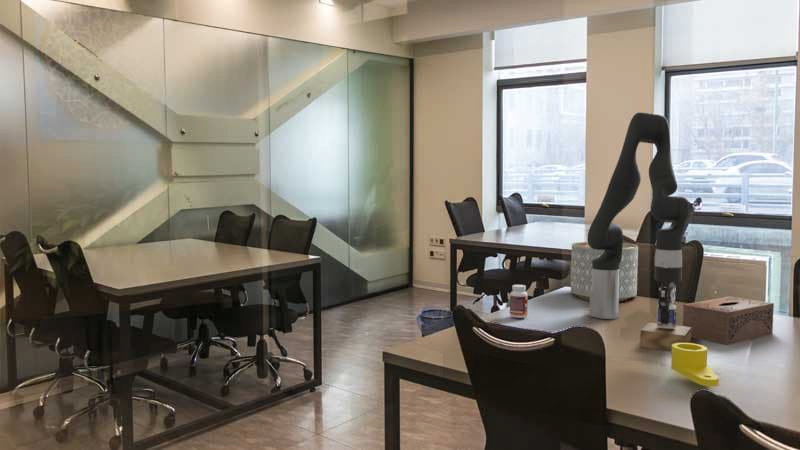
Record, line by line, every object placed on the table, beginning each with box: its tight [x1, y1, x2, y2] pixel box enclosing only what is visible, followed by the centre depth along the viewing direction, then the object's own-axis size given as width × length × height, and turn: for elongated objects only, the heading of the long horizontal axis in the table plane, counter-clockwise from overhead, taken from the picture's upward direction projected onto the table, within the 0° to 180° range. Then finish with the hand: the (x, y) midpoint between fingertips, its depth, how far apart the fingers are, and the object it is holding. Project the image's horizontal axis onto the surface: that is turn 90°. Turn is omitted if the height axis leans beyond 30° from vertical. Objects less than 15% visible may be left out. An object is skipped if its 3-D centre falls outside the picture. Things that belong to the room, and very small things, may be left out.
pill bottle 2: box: [656, 297, 677, 329], centre depth 193 cm, size 5×5×9 cm
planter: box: [570, 241, 639, 302], centre depth 265 cm, size 26×26×22 cm
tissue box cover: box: [682, 296, 775, 346], centre depth 207 cm, size 26×14×10 cm, turn 123°
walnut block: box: [639, 322, 692, 352], centre depth 194 cm, size 12×12×5 cm
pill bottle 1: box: [509, 284, 529, 319], centre depth 234 cm, size 6×6×11 cm
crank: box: [670, 342, 720, 387], centre depth 165 cm, size 18×8×6 cm, turn 178°
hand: (666, 321), depth 193 cm, fingers closed on pill bottle 2, 5 cm apart
